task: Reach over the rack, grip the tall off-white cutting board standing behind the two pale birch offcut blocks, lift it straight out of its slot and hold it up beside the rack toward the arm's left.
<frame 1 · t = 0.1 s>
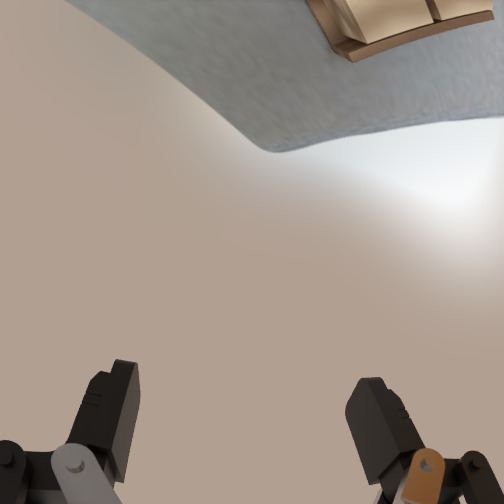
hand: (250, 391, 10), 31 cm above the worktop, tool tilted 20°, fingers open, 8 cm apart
offcut block a: (361, 6, 24), point 1 cm above the worktop, touching rack
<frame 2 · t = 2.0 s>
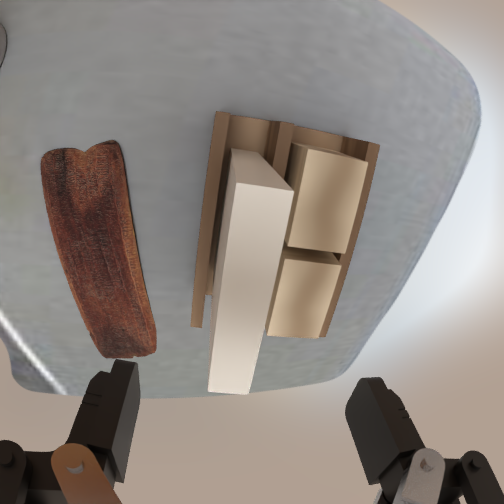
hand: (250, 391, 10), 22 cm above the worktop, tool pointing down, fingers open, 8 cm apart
offcut block b: (302, 181, 29), point 1 cm above the worktop, touching rack
cutting board: (234, 213, 30), point 1 cm above the worktop, touching rack
offcut block a: (285, 259, 32), point 1 cm above the worktop, touching rack
wooden tablet: (101, 263, 33), on the worktop
rack: (286, 217, 32), on the worktop
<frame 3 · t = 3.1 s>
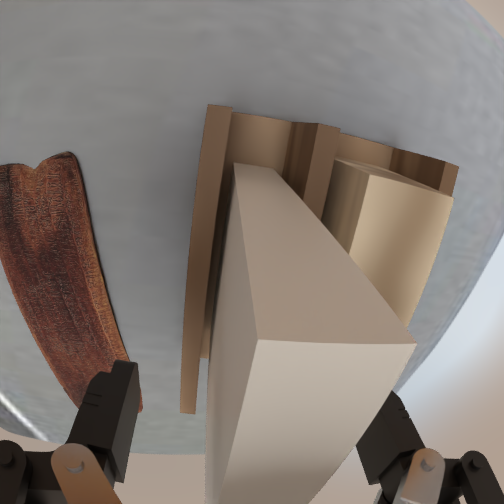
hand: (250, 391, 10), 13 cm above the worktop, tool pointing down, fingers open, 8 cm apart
offcut block b: (336, 211, 20), point 1 cm above the worktop, touching rack
cutting board: (238, 257, 21), point 1 cm above the worktop, touching rack
wooden tablet: (67, 311, 24), on the worktop
rack: (310, 258, 23), on the worktop
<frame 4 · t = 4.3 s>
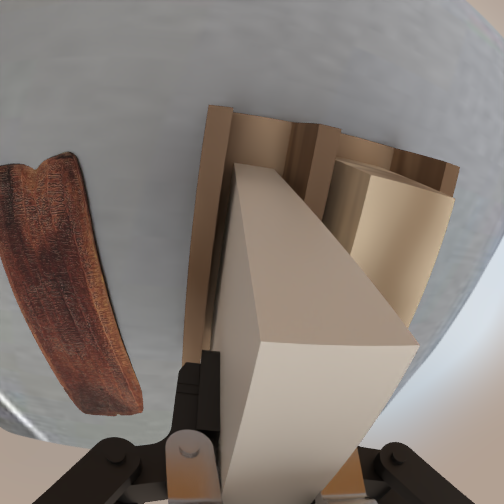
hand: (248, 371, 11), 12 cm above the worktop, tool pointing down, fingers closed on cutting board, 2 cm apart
offcut block b: (337, 212, 20), point 1 cm above the worktop, touching rack
cutting board: (238, 257, 21), point 1 cm above the worktop, touching gripper
wooden tablet: (68, 311, 24), on the worktop
rack: (310, 259, 23), on the worktop
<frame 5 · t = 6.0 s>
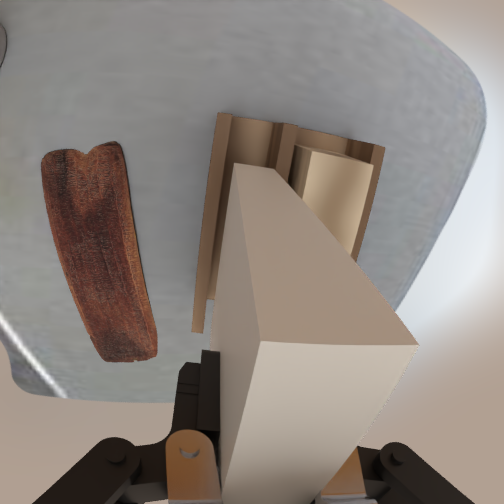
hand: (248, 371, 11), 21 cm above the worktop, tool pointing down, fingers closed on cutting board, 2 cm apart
offcut block b: (306, 184, 29), point 1 cm above the worktop, touching rack
cutting board: (238, 257, 21), point 10 cm above the worktop, touching gripper
wooden tablet: (102, 266, 32), on the worktop
rack: (289, 220, 31), on the worktop
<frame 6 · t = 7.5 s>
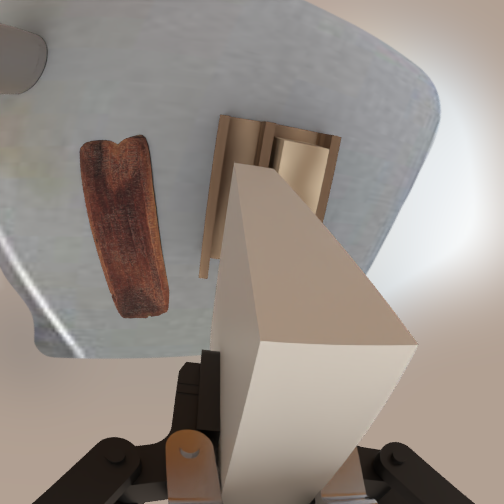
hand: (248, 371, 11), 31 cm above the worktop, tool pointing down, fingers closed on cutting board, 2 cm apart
offcut block b: (286, 167, 38), point 1 cm above the worktop, touching rack
cutting board: (238, 257, 21), point 20 cm above the worktop, touching gripper
wooden tablet: (126, 233, 41), on the worktop
rack: (274, 196, 40), on the worktop
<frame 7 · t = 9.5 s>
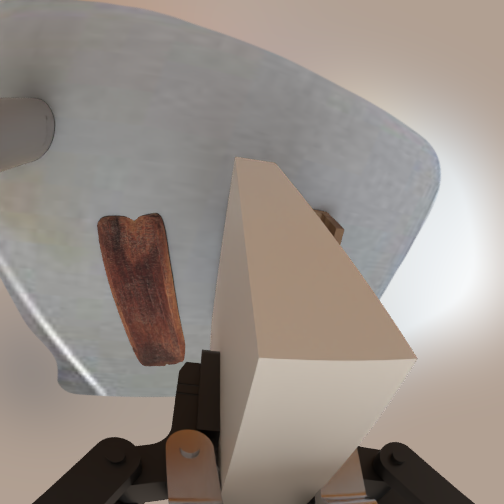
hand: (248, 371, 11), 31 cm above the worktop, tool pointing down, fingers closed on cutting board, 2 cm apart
cutting board: (239, 251, 21), point 21 cm above the worktop, touching gripper
wooden tablet: (145, 297, 46), on the worktop
rack: (280, 268, 45), on the worktop
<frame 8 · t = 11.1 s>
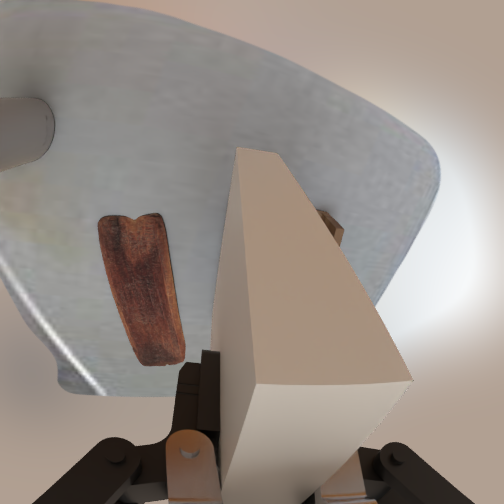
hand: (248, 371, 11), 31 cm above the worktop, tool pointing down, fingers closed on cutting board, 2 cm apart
cutting board: (241, 241, 21), point 20 cm above the worktop, tilted 5°, touching gripper
wooden tablet: (145, 297, 46), on the worktop
rack: (280, 268, 45), on the worktop
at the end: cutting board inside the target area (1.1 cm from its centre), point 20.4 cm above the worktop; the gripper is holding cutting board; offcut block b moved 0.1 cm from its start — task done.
